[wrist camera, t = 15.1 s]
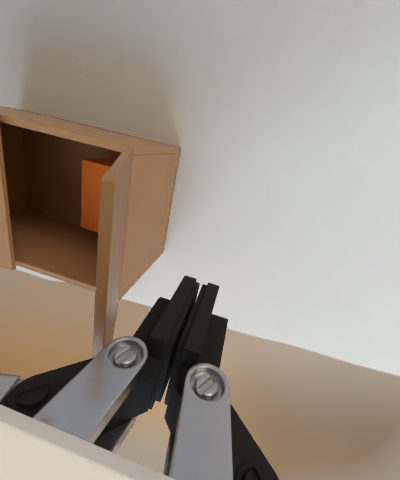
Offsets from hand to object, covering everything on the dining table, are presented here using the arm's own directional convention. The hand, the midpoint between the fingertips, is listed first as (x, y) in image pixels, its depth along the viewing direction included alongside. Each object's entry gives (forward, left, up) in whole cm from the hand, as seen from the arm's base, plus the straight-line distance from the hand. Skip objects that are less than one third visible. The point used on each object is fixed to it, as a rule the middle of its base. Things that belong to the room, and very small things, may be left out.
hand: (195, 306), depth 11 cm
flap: (-5, 0, 0) cm, 5 cm away
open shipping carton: (-15, 0, -15) cm, 21 cm away
